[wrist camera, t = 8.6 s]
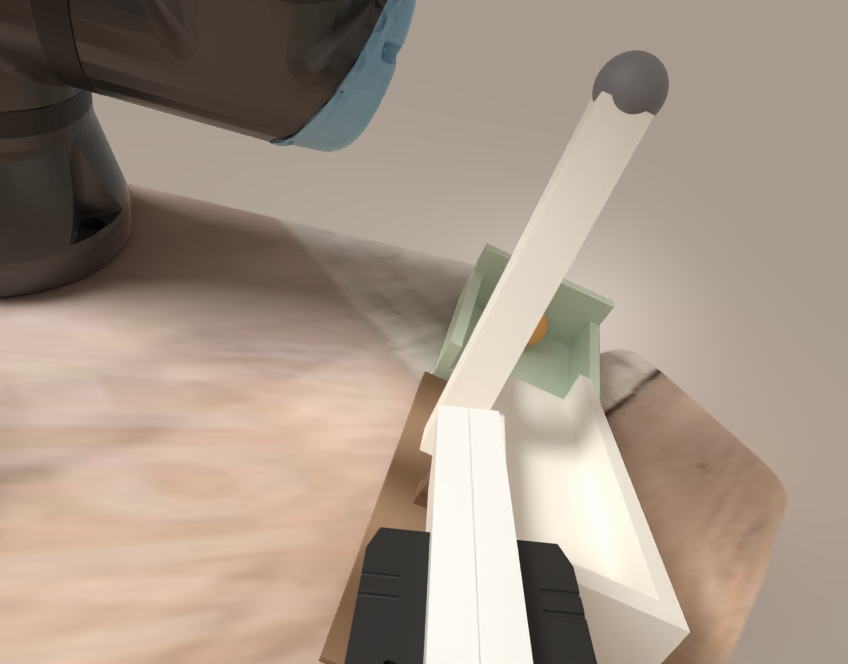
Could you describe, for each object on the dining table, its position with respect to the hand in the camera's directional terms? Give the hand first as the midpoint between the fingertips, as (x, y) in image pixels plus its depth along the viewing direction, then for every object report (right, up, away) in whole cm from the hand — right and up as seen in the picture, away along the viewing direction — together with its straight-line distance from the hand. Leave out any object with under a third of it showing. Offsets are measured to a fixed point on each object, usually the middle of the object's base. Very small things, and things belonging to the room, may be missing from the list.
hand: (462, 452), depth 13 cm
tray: (+6, +1, +27) cm, 28 cm away
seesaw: (+3, -4, +12) cm, 13 cm away
